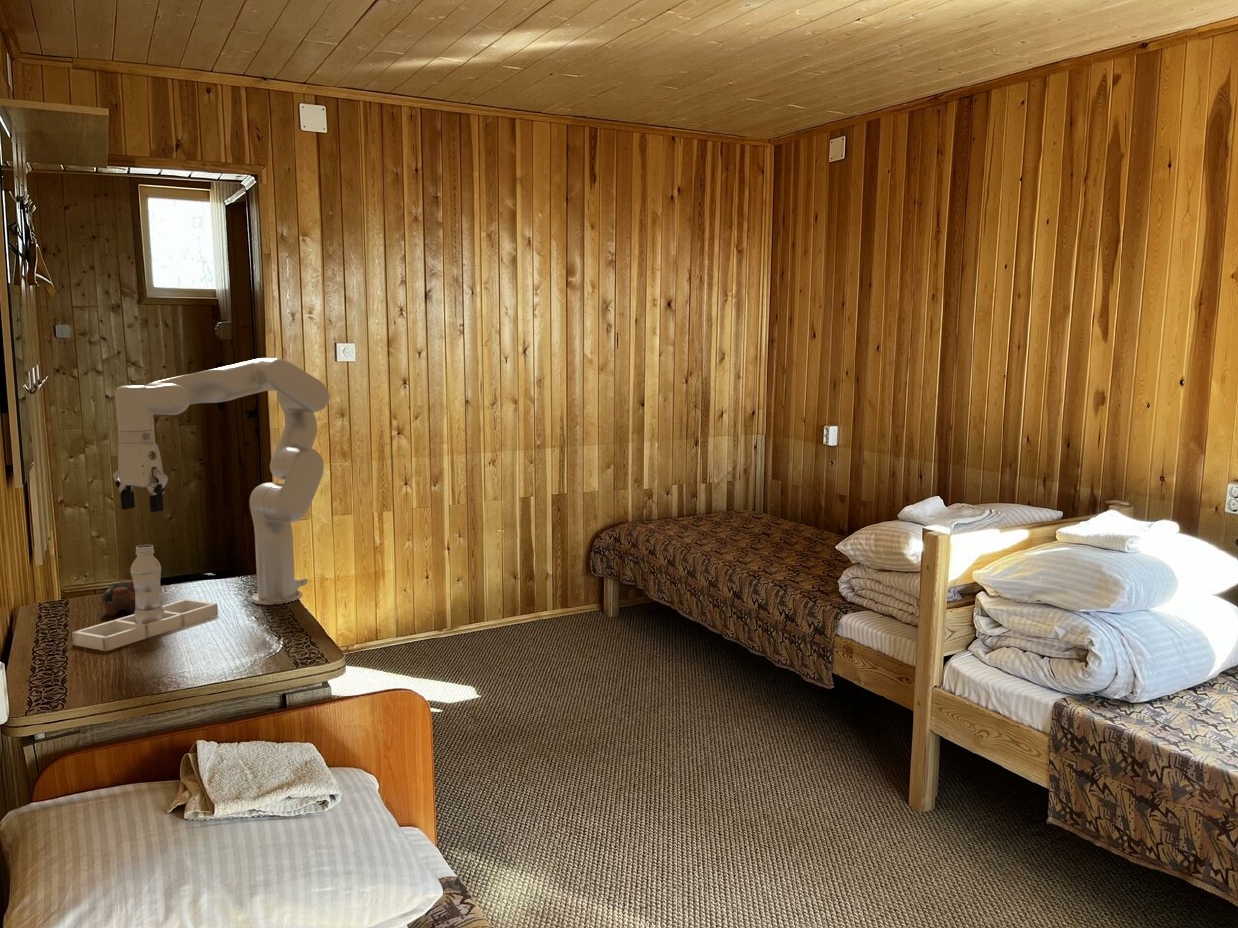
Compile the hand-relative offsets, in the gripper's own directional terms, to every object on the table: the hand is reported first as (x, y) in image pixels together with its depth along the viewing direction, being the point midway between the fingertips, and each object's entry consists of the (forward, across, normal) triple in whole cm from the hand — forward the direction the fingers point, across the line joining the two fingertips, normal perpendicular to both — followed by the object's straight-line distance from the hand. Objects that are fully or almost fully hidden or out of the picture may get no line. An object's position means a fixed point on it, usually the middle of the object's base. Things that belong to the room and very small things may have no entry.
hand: (142, 509), depth 219 cm
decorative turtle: (+29, +19, -7) cm, 36 cm away
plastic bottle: (+29, 0, 0) cm, 29 cm away
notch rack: (+29, 0, +1) cm, 29 cm away
